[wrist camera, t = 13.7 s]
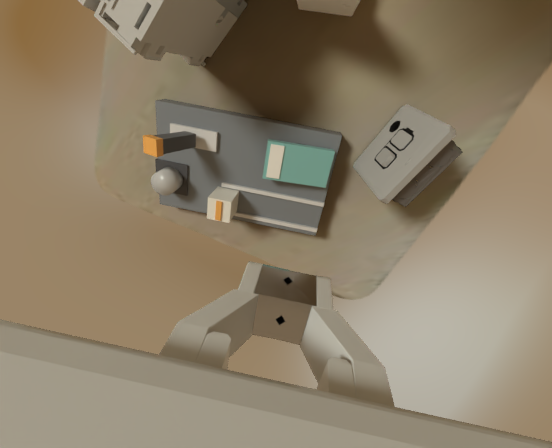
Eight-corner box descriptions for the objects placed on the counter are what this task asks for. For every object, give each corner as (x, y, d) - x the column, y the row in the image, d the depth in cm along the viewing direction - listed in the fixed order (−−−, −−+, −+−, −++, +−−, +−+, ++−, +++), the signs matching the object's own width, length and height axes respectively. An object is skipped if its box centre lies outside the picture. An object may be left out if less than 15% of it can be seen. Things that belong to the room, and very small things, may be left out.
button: (159, 164, 37) (150, 169, 35) (182, 169, 37) (174, 174, 35) (160, 186, 38) (151, 192, 36) (182, 191, 38) (175, 197, 36)
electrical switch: (404, 101, 33) (441, 115, 25) (434, 127, 34) (478, 148, 26) (350, 164, 37) (367, 194, 29) (379, 185, 38) (402, 218, 30)
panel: (163, 98, 36) (150, 100, 33) (340, 132, 35) (342, 136, 32) (166, 197, 42) (156, 205, 40) (315, 227, 42) (315, 238, 39)
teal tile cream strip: (262, 175, 35) (262, 178, 34) (267, 139, 33) (267, 140, 32) (324, 185, 36) (325, 188, 34) (333, 149, 33) (335, 151, 32)
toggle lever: (184, 129, 34) (142, 135, 28) (196, 133, 33) (156, 139, 28) (184, 144, 35) (144, 152, 29) (196, 148, 34) (156, 157, 29)
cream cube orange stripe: (217, 186, 38) (207, 197, 34) (239, 190, 38) (230, 202, 34) (216, 206, 39) (206, 219, 35) (237, 210, 39) (228, 223, 35)
